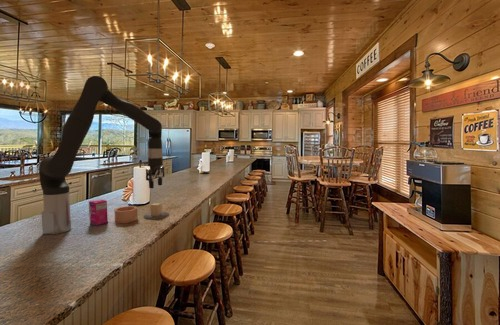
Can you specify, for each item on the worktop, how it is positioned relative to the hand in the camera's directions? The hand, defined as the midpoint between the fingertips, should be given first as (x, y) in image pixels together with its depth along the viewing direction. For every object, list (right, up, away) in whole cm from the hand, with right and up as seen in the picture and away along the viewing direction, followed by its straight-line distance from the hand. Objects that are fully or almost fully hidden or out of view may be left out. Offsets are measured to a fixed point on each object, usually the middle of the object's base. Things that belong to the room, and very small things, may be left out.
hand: (155, 186), depth 133 cm
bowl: (-13, -17, -7) cm, 22 cm away
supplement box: (-23, -17, -13) cm, 32 cm away
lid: (0, -16, +1) cm, 16 cm away
